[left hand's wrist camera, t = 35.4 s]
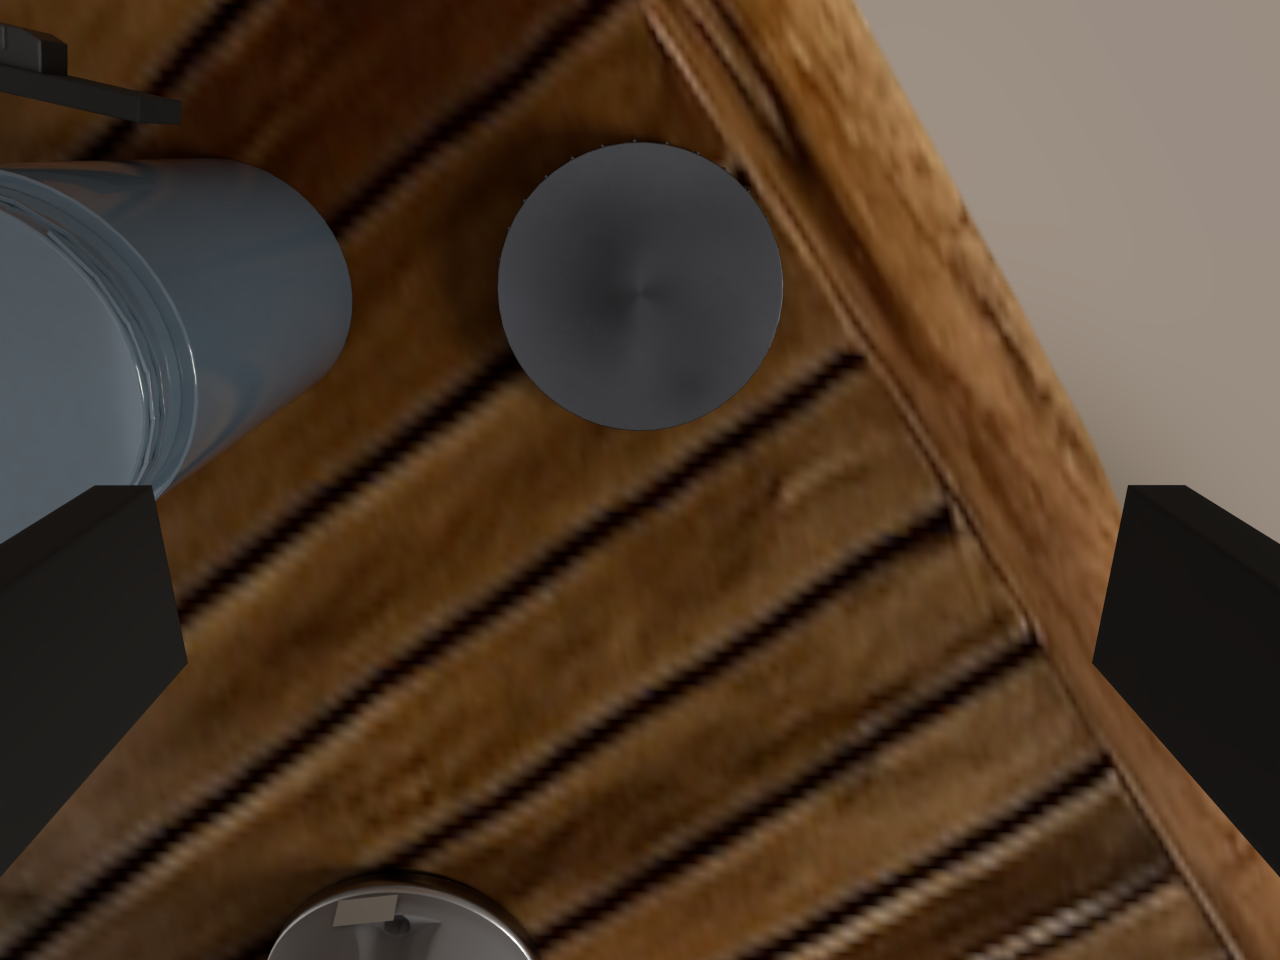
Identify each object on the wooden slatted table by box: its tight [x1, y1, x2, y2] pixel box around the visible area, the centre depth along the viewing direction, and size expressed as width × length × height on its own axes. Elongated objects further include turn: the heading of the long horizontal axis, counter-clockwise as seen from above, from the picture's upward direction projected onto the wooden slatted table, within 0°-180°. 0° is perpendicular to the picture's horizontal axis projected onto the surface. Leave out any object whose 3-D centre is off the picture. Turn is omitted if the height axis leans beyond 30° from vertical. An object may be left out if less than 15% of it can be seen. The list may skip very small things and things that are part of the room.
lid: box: [497, 139, 783, 431], centre depth 36 cm, size 11×11×2 cm
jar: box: [0, 158, 352, 544], centre depth 30 cm, size 10×10×16 cm
